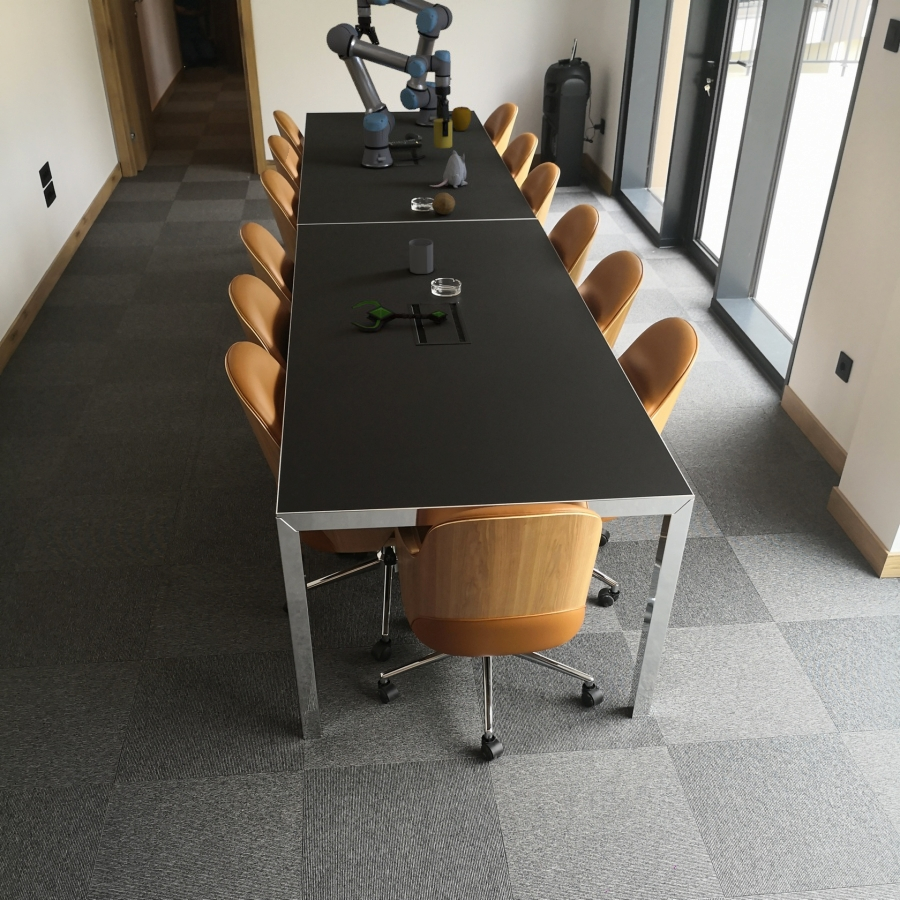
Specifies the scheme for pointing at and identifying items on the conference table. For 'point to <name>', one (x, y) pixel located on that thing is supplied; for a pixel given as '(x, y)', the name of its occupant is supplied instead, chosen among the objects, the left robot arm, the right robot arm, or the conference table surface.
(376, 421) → the conference table surface
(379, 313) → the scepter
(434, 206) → the potato
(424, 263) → the cup
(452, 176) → the toy
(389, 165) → the left robot arm
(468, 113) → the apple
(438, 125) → the canister
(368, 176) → the conference table surface
